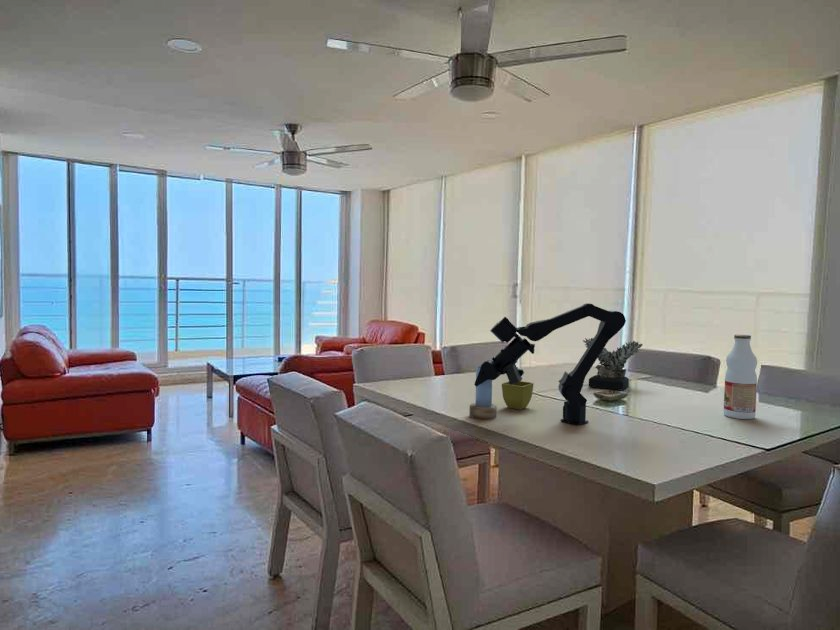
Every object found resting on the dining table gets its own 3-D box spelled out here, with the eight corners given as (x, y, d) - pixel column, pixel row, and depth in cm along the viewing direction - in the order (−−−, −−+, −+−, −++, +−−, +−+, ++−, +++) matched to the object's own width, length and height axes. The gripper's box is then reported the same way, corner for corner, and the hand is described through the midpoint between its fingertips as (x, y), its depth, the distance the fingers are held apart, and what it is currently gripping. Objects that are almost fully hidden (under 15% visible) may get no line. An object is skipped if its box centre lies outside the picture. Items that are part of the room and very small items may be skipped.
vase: (495, 406, 179) (495, 366, 178) (483, 408, 176) (483, 368, 175) (483, 403, 183) (484, 364, 183) (472, 405, 180) (472, 366, 179)
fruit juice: (745, 421, 177) (748, 336, 176) (717, 415, 185) (720, 334, 184) (761, 417, 182) (764, 335, 180) (733, 412, 190) (736, 333, 189)
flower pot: (522, 411, 187) (523, 386, 187) (500, 408, 192) (500, 383, 192) (533, 407, 194) (534, 382, 194) (511, 404, 199) (512, 380, 199)
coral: (579, 387, 234) (580, 339, 233) (583, 381, 250) (584, 336, 249) (641, 392, 224) (642, 342, 223) (641, 385, 241) (643, 339, 240)
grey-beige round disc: (502, 417, 179) (502, 406, 179) (482, 420, 173) (482, 410, 173) (483, 411, 186) (483, 401, 186) (463, 415, 181) (464, 404, 180)
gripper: (523, 375, 164) (487, 407, 169) (535, 367, 181) (502, 396, 186) (498, 348, 167) (464, 380, 172) (512, 342, 184) (481, 372, 189)
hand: (479, 383), depth 180 cm, fingers open, 9 cm apart
